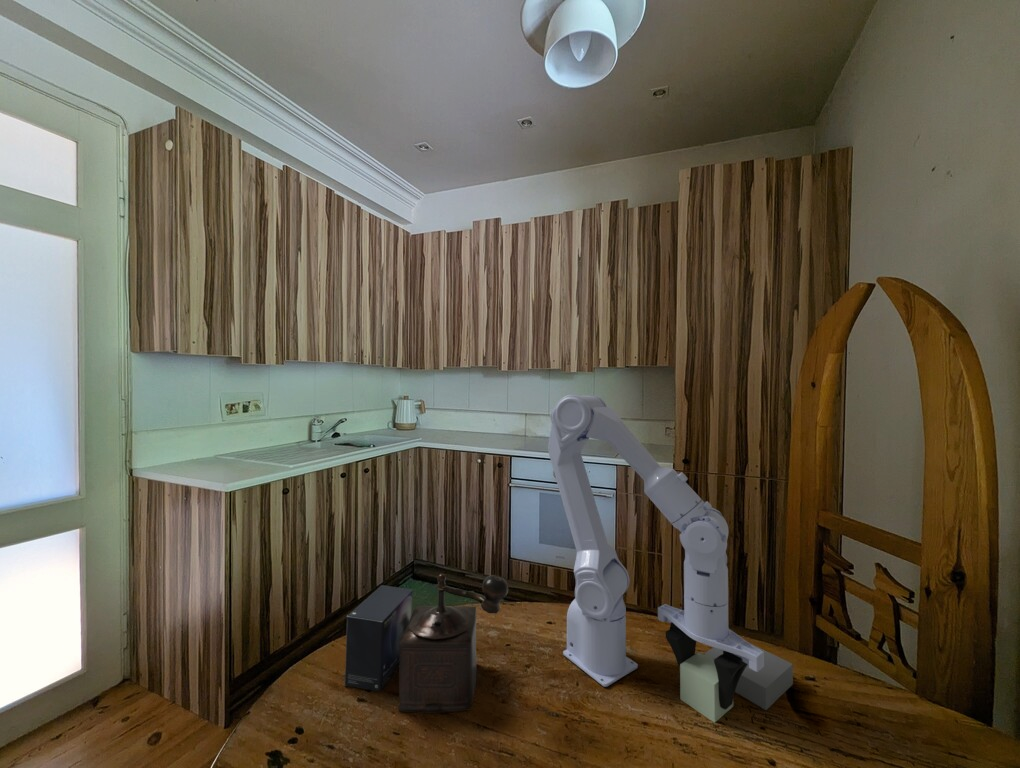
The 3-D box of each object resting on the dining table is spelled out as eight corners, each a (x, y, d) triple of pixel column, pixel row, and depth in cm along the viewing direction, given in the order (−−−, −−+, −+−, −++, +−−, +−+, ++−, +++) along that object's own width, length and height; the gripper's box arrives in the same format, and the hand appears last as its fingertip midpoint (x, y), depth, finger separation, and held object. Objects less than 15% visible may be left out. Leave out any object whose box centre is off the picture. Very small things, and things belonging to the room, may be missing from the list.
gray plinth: (703, 673, 63) (703, 654, 63) (732, 652, 68) (732, 634, 68) (766, 710, 56) (765, 688, 56) (793, 683, 61) (792, 663, 61)
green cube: (680, 699, 58) (680, 664, 58) (699, 685, 61) (699, 651, 61) (714, 722, 54) (714, 684, 54) (733, 706, 57) (733, 670, 57)
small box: (382, 693, 59) (383, 621, 59) (342, 687, 60) (343, 616, 60) (413, 649, 69) (414, 587, 69) (379, 644, 70) (380, 583, 71)
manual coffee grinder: (394, 716, 55) (395, 583, 55) (413, 662, 66) (415, 551, 66) (508, 717, 55) (508, 583, 55) (508, 662, 66) (508, 551, 66)
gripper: (774, 610, 54) (775, 713, 54) (675, 571, 66) (676, 654, 65) (748, 627, 50) (750, 738, 50) (649, 582, 62) (649, 671, 61)
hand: (706, 692), depth 57 cm, fingers closed on green cube, 5 cm apart
